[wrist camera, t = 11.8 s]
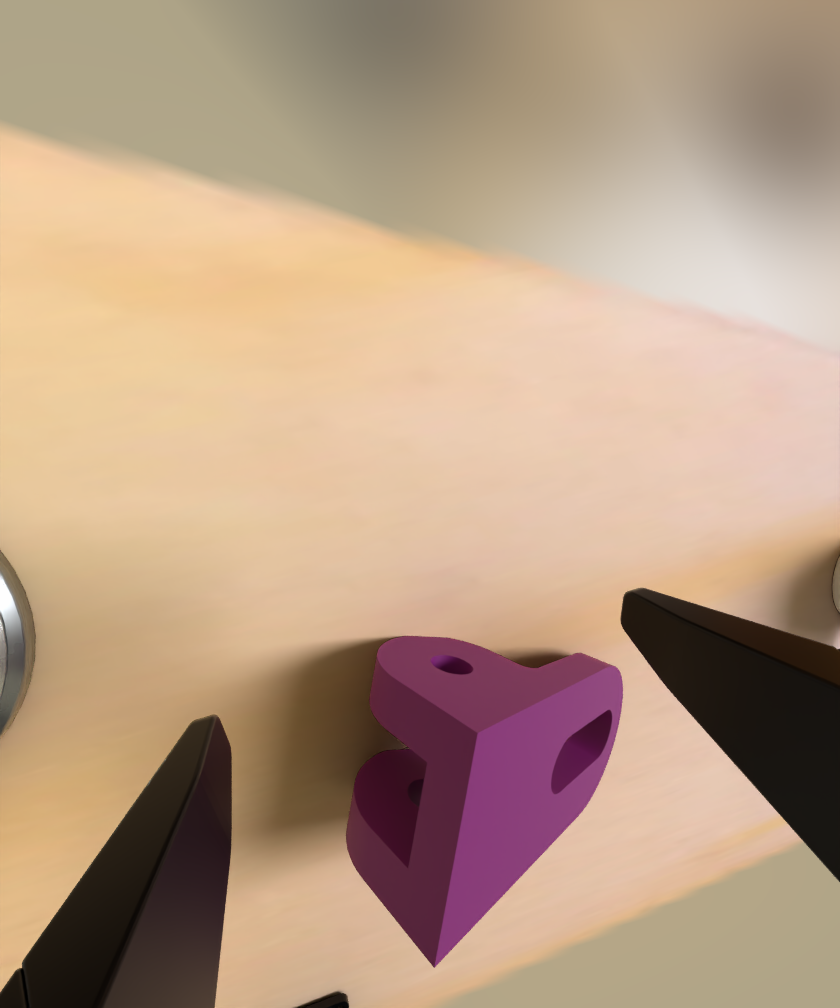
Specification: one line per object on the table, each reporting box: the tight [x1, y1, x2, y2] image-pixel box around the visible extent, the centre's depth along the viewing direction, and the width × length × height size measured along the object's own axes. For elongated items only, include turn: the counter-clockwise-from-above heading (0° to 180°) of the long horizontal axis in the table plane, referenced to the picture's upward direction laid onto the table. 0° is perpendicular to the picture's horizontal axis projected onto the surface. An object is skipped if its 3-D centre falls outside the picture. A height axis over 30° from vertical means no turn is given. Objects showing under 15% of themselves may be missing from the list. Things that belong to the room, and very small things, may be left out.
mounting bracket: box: [346, 636, 623, 968], centre depth 26 cm, size 9×8×18 cm
